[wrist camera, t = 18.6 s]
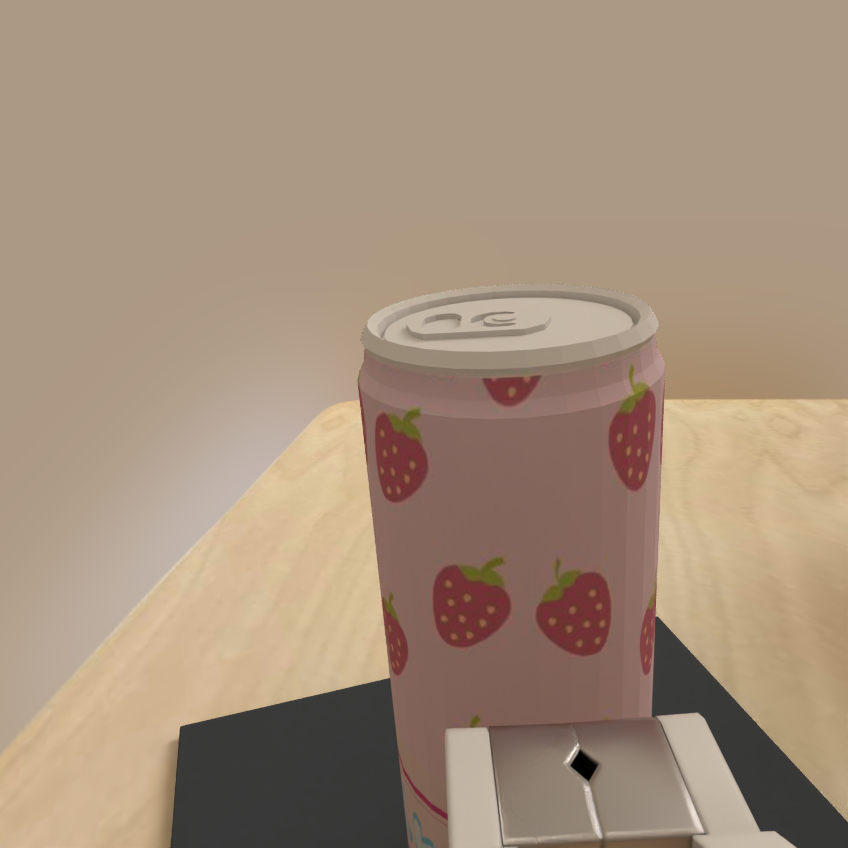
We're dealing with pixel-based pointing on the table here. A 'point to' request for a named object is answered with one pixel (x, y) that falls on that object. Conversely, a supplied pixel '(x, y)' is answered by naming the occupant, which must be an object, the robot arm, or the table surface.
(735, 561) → the table surface
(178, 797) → the mat
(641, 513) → the beverage can
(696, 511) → the table surface
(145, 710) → the table surface
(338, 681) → the table surface
